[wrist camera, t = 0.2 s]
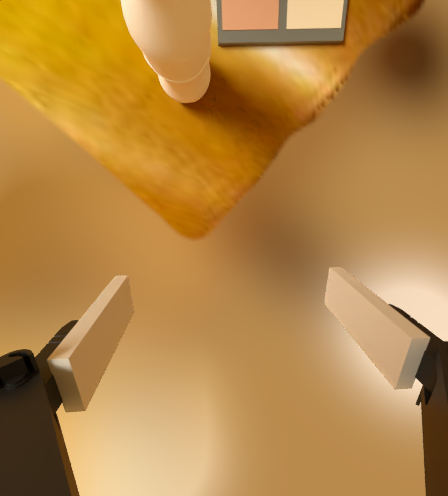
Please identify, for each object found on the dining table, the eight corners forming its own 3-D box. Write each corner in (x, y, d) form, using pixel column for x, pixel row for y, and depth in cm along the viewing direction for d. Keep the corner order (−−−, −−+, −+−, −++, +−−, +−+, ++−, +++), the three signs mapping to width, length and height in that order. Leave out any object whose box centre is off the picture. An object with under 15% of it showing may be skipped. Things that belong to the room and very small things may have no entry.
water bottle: (166, 109, 36) (85, 6, 12) (157, 52, 33) (34, -215, 10) (212, 105, 36) (220, -4, 12) (207, 48, 33) (204, -223, 10)
